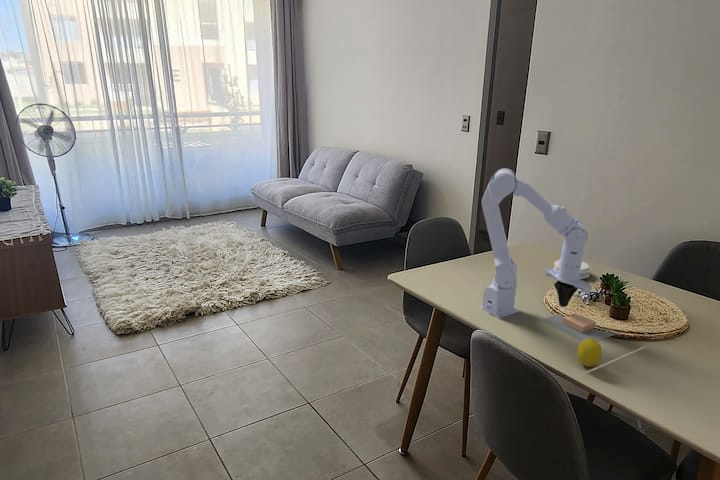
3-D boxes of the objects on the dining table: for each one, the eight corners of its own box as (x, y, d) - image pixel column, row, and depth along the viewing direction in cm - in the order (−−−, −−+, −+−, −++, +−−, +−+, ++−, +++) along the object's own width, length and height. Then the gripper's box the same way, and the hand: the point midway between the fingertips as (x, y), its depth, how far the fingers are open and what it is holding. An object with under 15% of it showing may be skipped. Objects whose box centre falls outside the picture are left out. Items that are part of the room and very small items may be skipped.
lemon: (578, 357, 120) (583, 330, 118) (601, 365, 117) (606, 338, 114) (572, 367, 116) (577, 339, 114) (595, 375, 113) (601, 347, 110)
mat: (588, 346, 126) (588, 344, 126) (540, 321, 139) (540, 319, 139) (615, 335, 131) (615, 334, 131) (567, 312, 144) (567, 311, 144)
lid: (564, 281, 167) (566, 269, 166) (546, 268, 179) (548, 256, 178) (596, 280, 169) (598, 267, 167) (577, 267, 181) (579, 255, 179)
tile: (562, 323, 137) (581, 333, 132) (563, 317, 136) (582, 326, 131) (575, 318, 140) (595, 328, 134) (576, 312, 139) (596, 322, 134)
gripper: (601, 269, 131) (593, 312, 135) (558, 253, 143) (552, 293, 147) (585, 274, 127) (577, 317, 132) (543, 257, 139) (537, 298, 144)
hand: (563, 305), depth 139 cm, fingers closed
